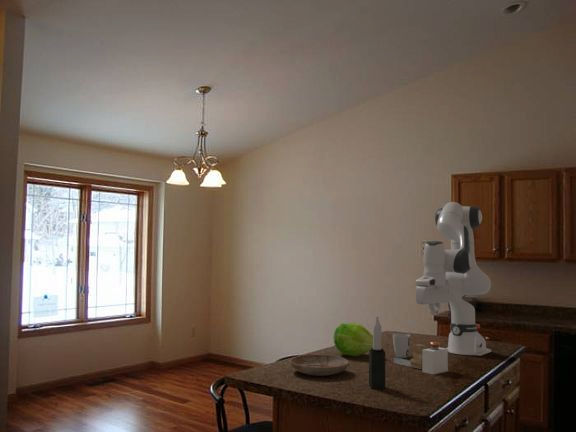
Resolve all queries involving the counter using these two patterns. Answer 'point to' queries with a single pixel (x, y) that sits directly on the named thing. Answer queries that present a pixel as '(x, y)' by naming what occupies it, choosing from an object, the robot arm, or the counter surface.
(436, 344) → the plunger
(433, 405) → the counter surface
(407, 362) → the rail
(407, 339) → the cup
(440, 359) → the housing
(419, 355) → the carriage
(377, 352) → the candle
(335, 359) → the ceramic bowl
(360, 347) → the lettuce
